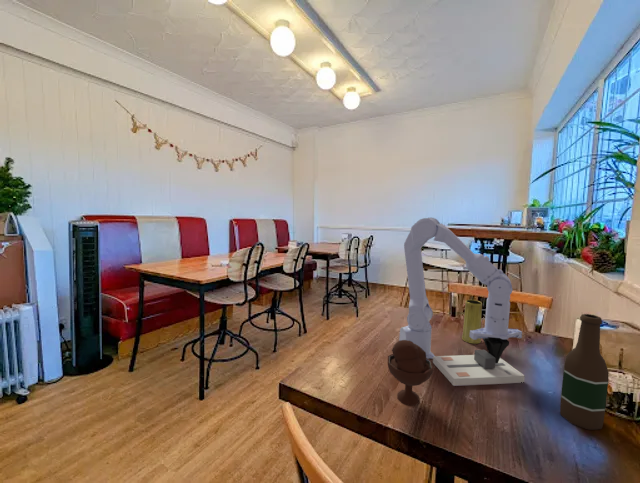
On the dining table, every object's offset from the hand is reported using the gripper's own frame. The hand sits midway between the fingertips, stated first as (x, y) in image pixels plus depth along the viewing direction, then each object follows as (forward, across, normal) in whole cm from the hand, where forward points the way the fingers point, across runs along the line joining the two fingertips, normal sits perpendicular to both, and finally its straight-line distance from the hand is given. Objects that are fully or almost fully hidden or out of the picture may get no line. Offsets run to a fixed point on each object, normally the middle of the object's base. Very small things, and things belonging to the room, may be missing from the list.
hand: (493, 361), depth 85 cm
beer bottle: (+3, +7, -20) cm, 21 cm away
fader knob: (+1, -3, 0) cm, 3 cm away
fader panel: (+3, -5, 0) cm, 6 cm away
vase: (+3, +6, +20) cm, 21 cm away
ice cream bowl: (+3, -29, -10) cm, 31 cm away
